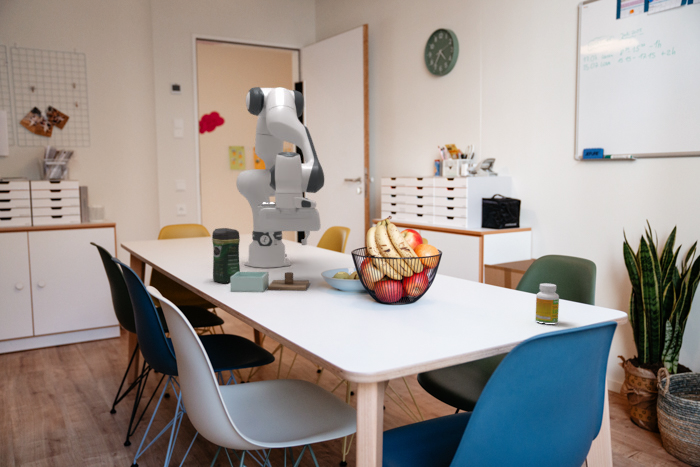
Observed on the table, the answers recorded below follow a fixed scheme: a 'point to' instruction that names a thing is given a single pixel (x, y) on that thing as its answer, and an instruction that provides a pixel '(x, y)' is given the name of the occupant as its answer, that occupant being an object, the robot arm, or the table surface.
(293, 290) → the mat
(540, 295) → the supplement bottle
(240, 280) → the mint green open box
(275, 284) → the lid
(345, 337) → the table surface
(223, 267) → the coffee jar
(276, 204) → the robot arm
